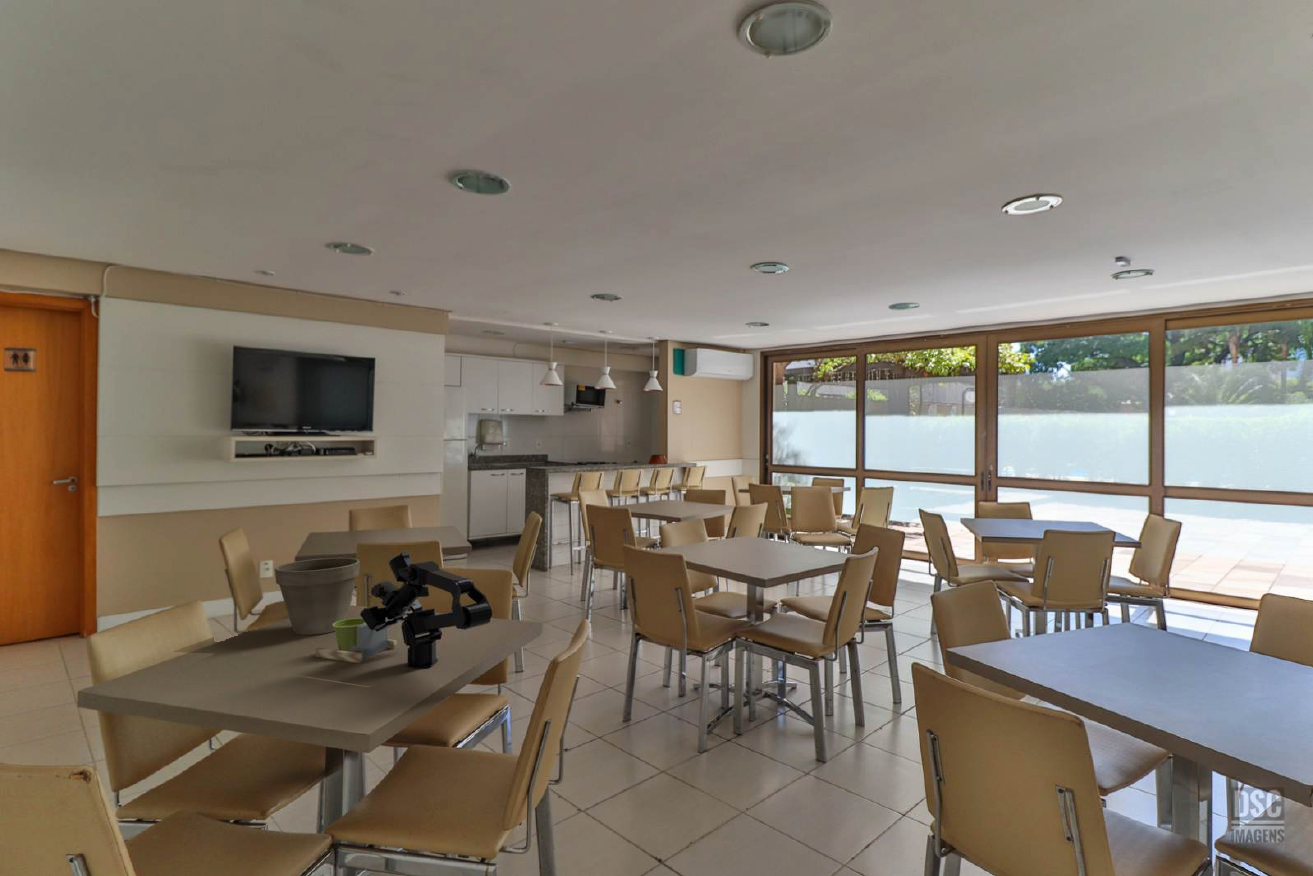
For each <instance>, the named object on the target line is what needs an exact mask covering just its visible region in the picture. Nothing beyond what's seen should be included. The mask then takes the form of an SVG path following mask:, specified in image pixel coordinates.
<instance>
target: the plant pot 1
mask: <svg viewBox="0 0 1313 876" xmlns="http://www.w3.org/2000/svg"><path fill="white" fill-rule="evenodd" d="M360 563H361V562H360V559H358V558H352V557H327V558H326V557H325V558H315V559H314V558H313V559H305V560H298V561H292V562H288V563H284V564H281V565H278V566H276V567H275V568H274V578H275V583H276V584H277V585H278V586H279V589H280V592H281V595H282V596H281V597H282V598H283V601H284V602H283V603H284V605H285V609H286V611H287V614H288V617H289V621H290V624H291V627H292V629H293V631H294V633H295V634H297V635H300V636H313V635H314V636H315V635H322V634H327V633H333V632H335V630H334V627H333V623H335V622H337V621H341V620H345V619H347V615H348V612H349V609H350V608H349V607H350V603H351V600H352V596H353V592H354V588H355V583H356V579H357V578H358V576H359V575H360Z"/></svg>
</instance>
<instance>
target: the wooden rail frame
mask: <svg viewBox="0 0 1313 876" xmlns="http://www.w3.org/2000/svg"><path fill="white" fill-rule="evenodd" d="M388 649H391V650H395V649H398V640H397V639H390V638H389V639H388ZM315 657H316V658H321V659H322V658H323V659H329V660H337V661H343V662H352V663H362V662H363V659H362V653H356V652H349V651H342V650H339V649H334V648H326V647H316V648H315Z"/></svg>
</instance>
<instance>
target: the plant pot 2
mask: <svg viewBox="0 0 1313 876" xmlns="http://www.w3.org/2000/svg"><path fill="white" fill-rule="evenodd" d="M364 624H366V623H365V621H364V620H363V618H362V617H361V618H360V617H356V618H355V617H353V618H346V619H345V620H341V621H337V622H335V623H333V627H334V630H335V631H334V632H335V635H336V641H337V648H338V649H337V650H342V651H349V652H351V647H354V646H356V645H357V627H358V626H361V625H364Z"/></svg>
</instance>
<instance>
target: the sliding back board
mask: <svg viewBox="0 0 1313 876" xmlns="http://www.w3.org/2000/svg"><path fill="white" fill-rule="evenodd" d="M388 628H389V627H387V628H385V629H383V630H381V631H378V632H376V630H371V629H370V628H369V627H368V626H367V624H364V625H361V626H358V627H357V645H356V646H354V647H351V652H356V653H362V660H364V659H366V658H369V657H371V656H374V655H377V654H379V653H382V652H384V651H387V650H388V649H389V648H388V634H389V633H388Z"/></svg>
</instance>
